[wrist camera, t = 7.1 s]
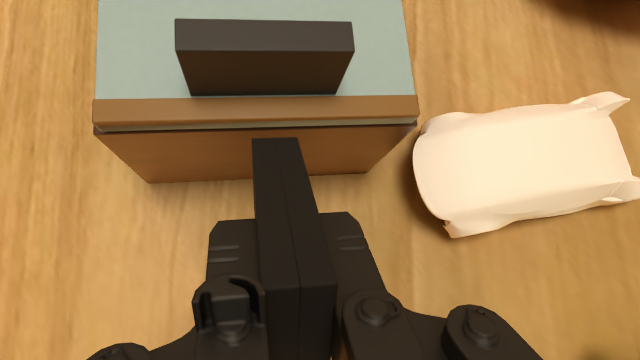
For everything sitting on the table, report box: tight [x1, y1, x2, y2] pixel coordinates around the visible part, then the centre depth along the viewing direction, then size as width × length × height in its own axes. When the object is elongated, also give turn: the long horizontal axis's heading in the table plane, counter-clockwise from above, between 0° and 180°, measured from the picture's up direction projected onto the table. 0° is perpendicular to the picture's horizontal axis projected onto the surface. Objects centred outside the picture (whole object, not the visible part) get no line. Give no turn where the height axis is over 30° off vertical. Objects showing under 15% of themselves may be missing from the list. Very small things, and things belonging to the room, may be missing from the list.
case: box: [93, 119, 417, 183], centre depth 24 cm, size 14×18×9 cm
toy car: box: [413, 92, 640, 238], centre depth 27 cm, size 18×8×4 cm, turn 102°
